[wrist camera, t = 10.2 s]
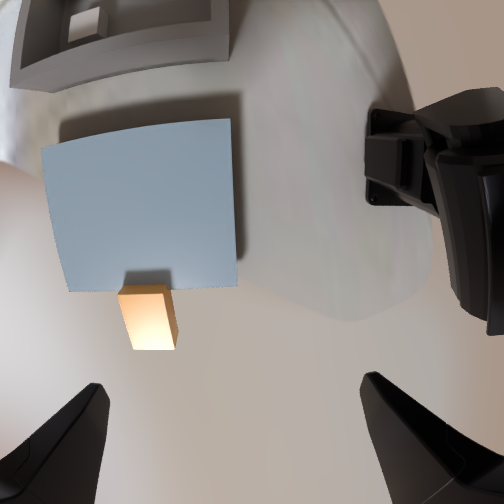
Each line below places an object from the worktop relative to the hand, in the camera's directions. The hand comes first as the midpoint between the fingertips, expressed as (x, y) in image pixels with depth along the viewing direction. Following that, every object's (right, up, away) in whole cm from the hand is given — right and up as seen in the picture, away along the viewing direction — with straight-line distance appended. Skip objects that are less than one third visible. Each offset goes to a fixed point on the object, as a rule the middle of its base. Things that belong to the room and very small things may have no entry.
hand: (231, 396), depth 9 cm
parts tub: (-7, +20, +4) cm, 22 cm away
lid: (-6, +6, +10) cm, 13 cm away
